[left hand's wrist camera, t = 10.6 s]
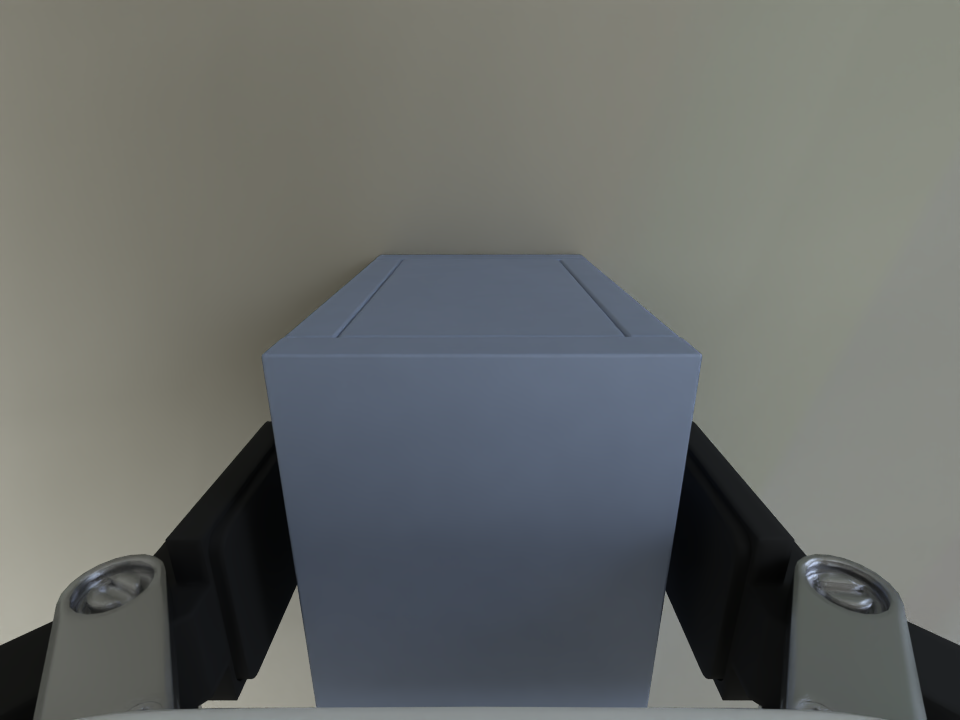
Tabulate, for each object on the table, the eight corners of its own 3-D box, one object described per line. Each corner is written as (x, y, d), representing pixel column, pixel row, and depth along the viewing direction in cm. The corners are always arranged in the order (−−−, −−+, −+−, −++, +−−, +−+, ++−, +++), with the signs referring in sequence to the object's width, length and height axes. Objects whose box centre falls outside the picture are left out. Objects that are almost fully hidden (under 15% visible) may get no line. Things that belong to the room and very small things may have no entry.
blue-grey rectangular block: (551, 708, 22) (596, 1037, 14) (410, 708, 22) (367, 1038, 14) (582, 254, 16) (704, 354, 7) (379, 254, 16) (259, 354, 7)
